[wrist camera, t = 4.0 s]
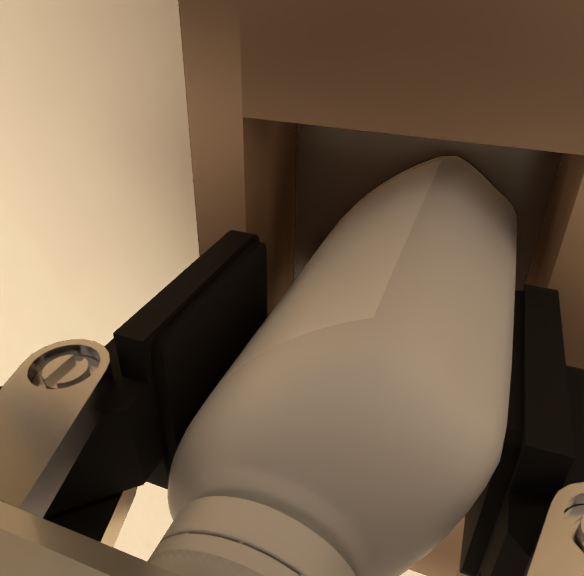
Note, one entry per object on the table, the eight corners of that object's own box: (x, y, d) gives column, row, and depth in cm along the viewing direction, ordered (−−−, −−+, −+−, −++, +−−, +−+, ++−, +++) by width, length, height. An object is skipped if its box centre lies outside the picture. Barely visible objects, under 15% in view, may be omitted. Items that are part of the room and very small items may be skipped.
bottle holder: (246, -122, 11) (165, -151, 8) (734, -140, 8) (823, -190, 6) (258, 434, 19) (220, 501, 16) (502, 510, 16) (498, 601, 14)
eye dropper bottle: (275, 198, 14) (-307, 733, 4) (501, 134, 11) (337, 1275, 1) (331, 336, 15) (4, 952, 6) (540, 309, 13) (589, 1403, 3)
